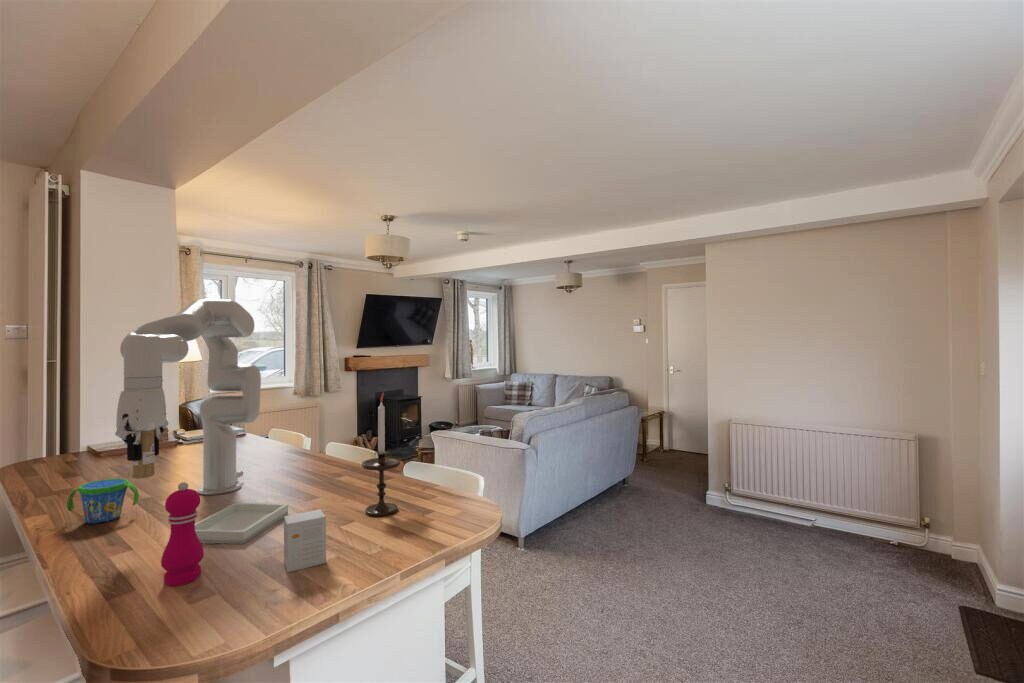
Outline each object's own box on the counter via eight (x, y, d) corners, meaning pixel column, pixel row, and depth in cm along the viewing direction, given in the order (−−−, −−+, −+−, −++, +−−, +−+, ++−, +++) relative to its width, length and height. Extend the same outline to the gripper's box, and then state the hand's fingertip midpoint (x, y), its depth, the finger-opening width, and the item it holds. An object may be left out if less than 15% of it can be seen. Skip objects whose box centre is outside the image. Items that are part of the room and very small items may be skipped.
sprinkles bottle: (154, 477, 115) (154, 422, 115) (130, 480, 112) (130, 424, 112) (155, 473, 119) (155, 420, 119) (132, 475, 116) (133, 422, 116)
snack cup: (145, 510, 137) (146, 476, 137) (124, 524, 127) (125, 486, 127) (83, 515, 134) (83, 479, 134) (56, 529, 123) (56, 491, 124)
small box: (321, 554, 108) (321, 508, 108) (326, 563, 103) (326, 516, 103) (283, 563, 104) (283, 515, 104) (286, 573, 99) (286, 523, 99)
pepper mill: (175, 571, 100) (175, 477, 100) (210, 569, 100) (211, 477, 101) (152, 588, 93) (152, 488, 93) (190, 586, 93) (190, 487, 94)
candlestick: (408, 507, 139) (407, 390, 139) (383, 520, 129) (383, 393, 129) (379, 502, 143) (379, 389, 144) (353, 514, 133) (353, 392, 134)
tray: (234, 513, 134) (234, 503, 134) (288, 514, 133) (288, 504, 133) (181, 542, 114) (181, 530, 114) (243, 544, 113) (243, 531, 113)
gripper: (156, 381, 124) (156, 449, 124) (96, 387, 107) (96, 466, 107) (183, 381, 124) (183, 450, 124) (127, 387, 107) (127, 467, 107)
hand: (143, 456), depth 115 cm, fingers closed on sprinkles bottle, 4 cm apart
